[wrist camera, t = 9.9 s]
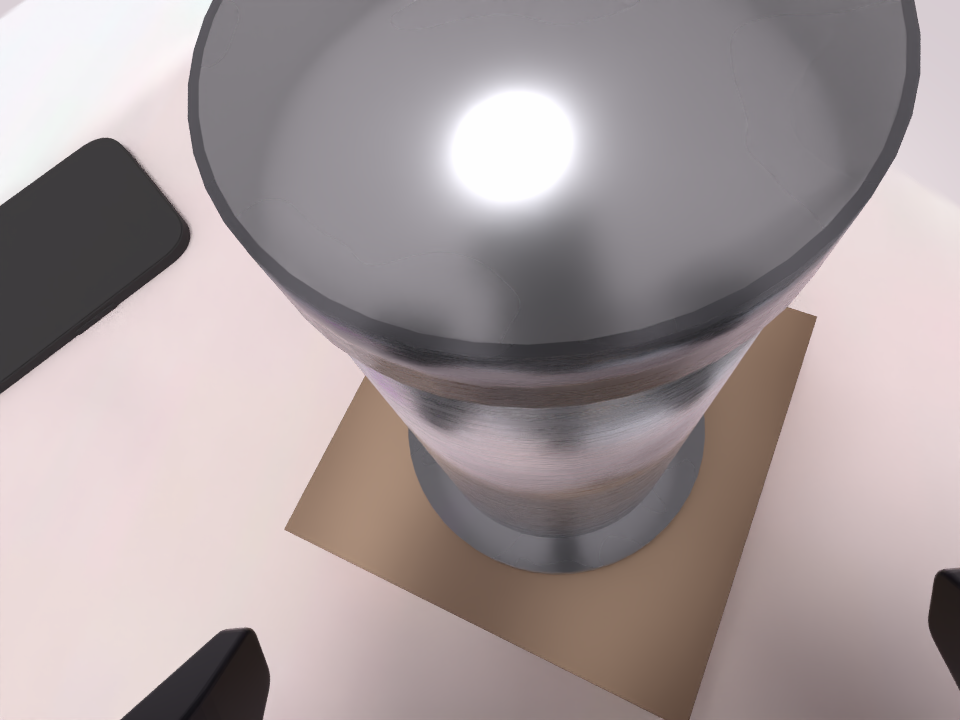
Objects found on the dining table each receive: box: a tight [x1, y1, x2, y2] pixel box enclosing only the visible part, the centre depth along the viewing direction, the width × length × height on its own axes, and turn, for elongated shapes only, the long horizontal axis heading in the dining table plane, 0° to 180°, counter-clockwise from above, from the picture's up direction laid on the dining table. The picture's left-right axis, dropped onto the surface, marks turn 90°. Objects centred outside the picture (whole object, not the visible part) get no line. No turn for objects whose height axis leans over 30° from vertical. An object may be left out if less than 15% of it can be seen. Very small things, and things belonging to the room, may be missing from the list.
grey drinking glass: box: [188, 0, 920, 575], centre depth 12 cm, size 8×8×13 cm
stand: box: [284, 307, 817, 720], centre depth 19 cm, size 11×11×3 cm
